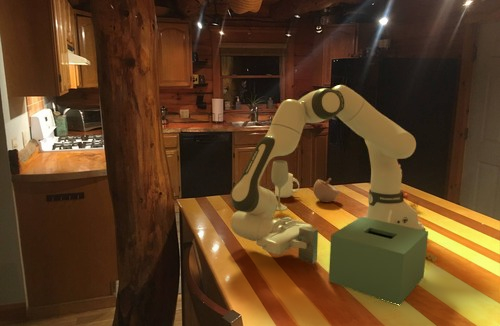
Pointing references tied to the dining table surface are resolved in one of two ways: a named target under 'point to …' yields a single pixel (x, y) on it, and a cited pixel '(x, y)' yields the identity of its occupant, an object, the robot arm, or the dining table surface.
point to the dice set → (431, 257)
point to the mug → (287, 187)
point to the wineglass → (279, 178)
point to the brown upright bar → (312, 238)
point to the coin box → (378, 258)
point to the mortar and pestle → (325, 191)
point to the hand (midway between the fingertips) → (310, 243)
